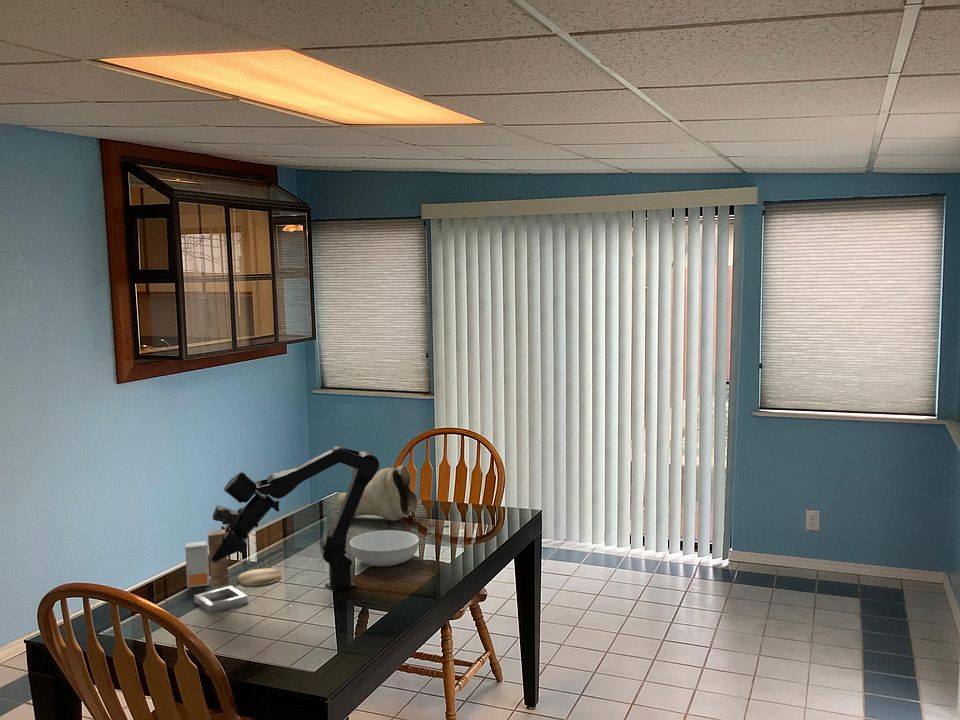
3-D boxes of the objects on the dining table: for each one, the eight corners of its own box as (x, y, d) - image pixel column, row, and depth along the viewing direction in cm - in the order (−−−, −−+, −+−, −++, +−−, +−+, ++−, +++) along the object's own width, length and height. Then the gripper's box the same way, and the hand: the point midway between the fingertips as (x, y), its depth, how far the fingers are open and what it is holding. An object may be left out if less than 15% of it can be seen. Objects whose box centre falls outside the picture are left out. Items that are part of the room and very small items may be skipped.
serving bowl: (409, 575, 259) (408, 552, 258) (340, 572, 263) (339, 549, 262) (427, 552, 279) (426, 530, 278) (363, 549, 283) (362, 528, 283)
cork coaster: (288, 578, 258) (287, 575, 258) (249, 589, 251) (249, 585, 251) (269, 568, 268) (269, 565, 267) (231, 578, 260) (231, 575, 260)
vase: (310, 488, 307) (389, 470, 300) (333, 463, 329) (407, 445, 321) (333, 548, 312) (411, 531, 304) (354, 519, 334) (427, 503, 326)
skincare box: (187, 588, 253) (184, 547, 252) (187, 583, 257) (185, 542, 256) (209, 585, 255) (207, 544, 253) (209, 580, 259) (207, 540, 257)
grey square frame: (247, 602, 241) (247, 595, 240) (210, 613, 234) (209, 605, 234) (231, 592, 249) (231, 585, 249) (194, 602, 242) (194, 595, 242)
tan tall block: (228, 579, 244) (225, 529, 242) (228, 584, 239) (225, 533, 238) (211, 581, 242) (207, 531, 241) (211, 586, 238) (207, 535, 236)
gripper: (228, 487, 248) (189, 530, 246) (230, 503, 231) (188, 550, 228) (259, 511, 251) (220, 554, 249) (263, 529, 234) (222, 576, 232)
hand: (212, 557), depth 240 cm, fingers closed on tan tall block, 4 cm apart
